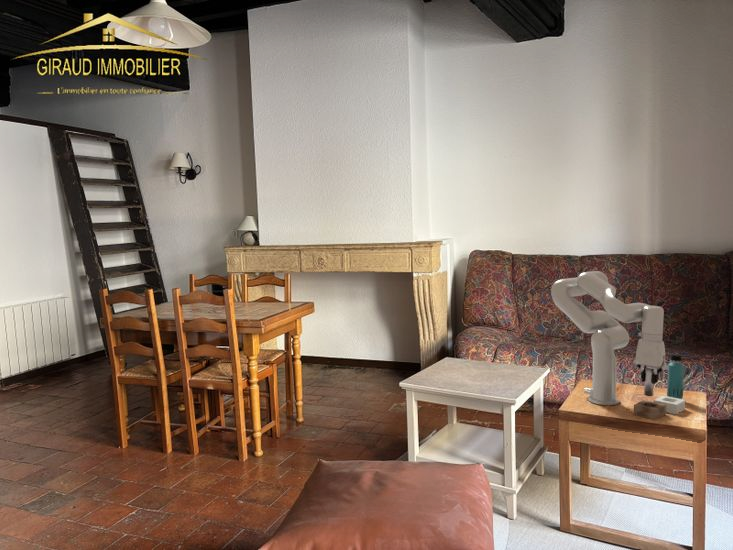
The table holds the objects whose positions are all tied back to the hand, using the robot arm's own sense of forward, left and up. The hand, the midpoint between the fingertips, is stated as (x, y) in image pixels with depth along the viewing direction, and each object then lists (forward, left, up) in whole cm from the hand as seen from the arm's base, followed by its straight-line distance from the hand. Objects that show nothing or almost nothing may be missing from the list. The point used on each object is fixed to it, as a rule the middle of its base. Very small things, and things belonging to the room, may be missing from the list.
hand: (649, 381), depth 245 cm
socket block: (+1, 0, -13) cm, 13 cm away
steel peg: (0, 0, -5) cm, 5 cm away
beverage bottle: (+1, +26, -14) cm, 29 cm away
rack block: (+4, +12, -13) cm, 18 cm away
